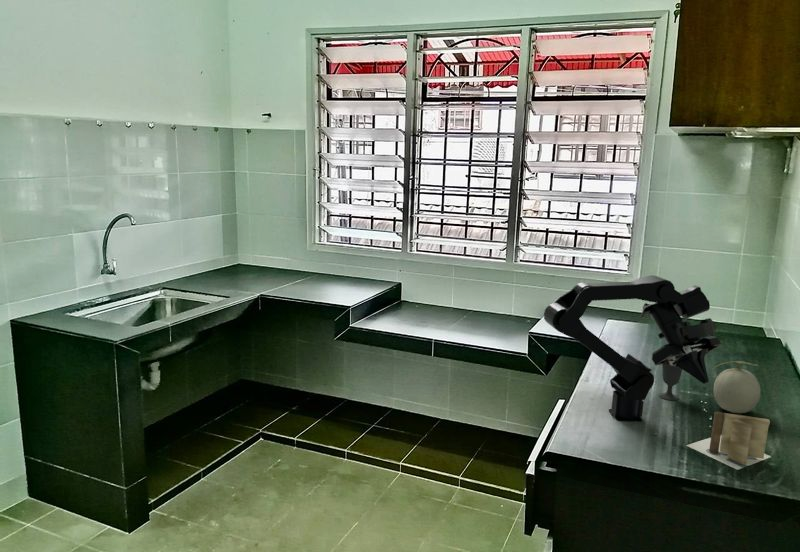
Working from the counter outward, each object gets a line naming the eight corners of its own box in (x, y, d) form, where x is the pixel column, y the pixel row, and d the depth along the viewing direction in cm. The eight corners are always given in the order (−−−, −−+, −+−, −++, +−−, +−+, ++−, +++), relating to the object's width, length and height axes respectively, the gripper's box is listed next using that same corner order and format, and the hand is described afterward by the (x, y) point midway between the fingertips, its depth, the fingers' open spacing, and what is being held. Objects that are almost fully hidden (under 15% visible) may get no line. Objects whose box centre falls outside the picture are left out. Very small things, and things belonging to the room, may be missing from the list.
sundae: (683, 396, 166) (690, 344, 163) (679, 404, 160) (686, 350, 158) (658, 390, 169) (664, 339, 167) (653, 398, 164) (659, 345, 161)
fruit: (712, 399, 165) (719, 346, 162) (760, 411, 157) (768, 356, 155) (702, 410, 157) (710, 356, 154) (752, 423, 149) (761, 366, 147)
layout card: (686, 446, 136) (686, 445, 136) (719, 435, 142) (719, 434, 142) (737, 470, 126) (737, 469, 126) (771, 457, 132) (771, 456, 132)
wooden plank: (707, 451, 134) (712, 412, 132) (712, 449, 134) (717, 411, 133) (742, 467, 127) (748, 426, 125) (747, 465, 128) (753, 425, 126)
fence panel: (720, 452, 132) (725, 415, 130) (718, 449, 133) (724, 412, 132) (764, 459, 130) (770, 421, 128) (762, 456, 131) (768, 419, 129)
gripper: (668, 311, 135) (707, 373, 128) (719, 303, 144) (758, 361, 137) (636, 335, 143) (670, 394, 136) (685, 326, 152) (720, 382, 145)
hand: (706, 382), depth 138 cm, fingers closed
